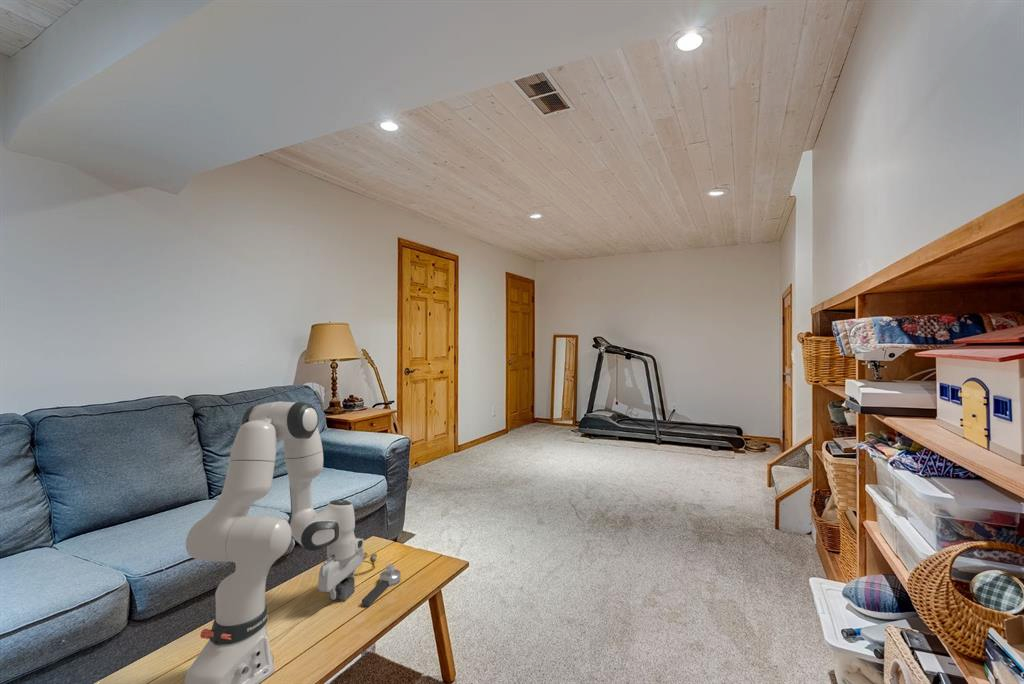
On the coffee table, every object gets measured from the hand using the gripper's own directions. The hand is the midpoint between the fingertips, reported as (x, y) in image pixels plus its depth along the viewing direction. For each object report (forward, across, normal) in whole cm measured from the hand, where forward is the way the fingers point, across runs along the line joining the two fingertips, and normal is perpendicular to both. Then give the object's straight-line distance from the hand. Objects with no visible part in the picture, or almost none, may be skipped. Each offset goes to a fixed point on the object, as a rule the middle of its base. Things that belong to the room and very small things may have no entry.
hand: (342, 591), depth 153 cm
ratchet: (+2, +6, -11) cm, 13 cm away
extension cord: (+2, +20, +5) cm, 21 cm away
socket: (+2, 0, 0) cm, 2 cm away
